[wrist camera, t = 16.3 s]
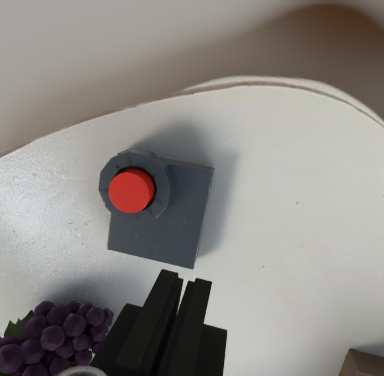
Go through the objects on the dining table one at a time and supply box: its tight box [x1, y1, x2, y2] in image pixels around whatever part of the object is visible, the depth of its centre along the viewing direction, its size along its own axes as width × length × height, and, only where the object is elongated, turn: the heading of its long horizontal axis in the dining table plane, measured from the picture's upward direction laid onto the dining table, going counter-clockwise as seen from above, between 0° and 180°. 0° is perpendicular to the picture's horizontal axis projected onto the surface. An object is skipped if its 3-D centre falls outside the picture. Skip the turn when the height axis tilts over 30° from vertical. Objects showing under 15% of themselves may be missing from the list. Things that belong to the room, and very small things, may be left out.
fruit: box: [0, 300, 114, 376], centre depth 35 cm, size 10×11×15 cm
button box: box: [99, 149, 214, 269], centre depth 32 cm, size 11×10×4 cm
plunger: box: [109, 169, 154, 213], centre depth 29 cm, size 4×4×2 cm
